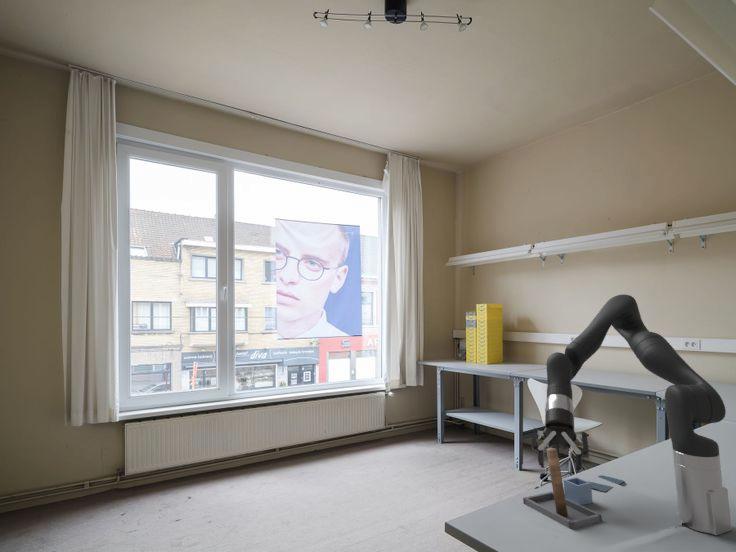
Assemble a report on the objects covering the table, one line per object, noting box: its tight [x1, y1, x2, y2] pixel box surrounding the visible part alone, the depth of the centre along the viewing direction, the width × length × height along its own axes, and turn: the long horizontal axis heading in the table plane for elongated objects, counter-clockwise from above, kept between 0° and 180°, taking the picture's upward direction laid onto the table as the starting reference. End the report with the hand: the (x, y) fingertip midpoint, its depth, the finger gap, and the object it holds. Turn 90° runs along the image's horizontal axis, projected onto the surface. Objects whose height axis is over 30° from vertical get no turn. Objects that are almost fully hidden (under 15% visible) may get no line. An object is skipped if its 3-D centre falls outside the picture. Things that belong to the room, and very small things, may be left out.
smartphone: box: [587, 474, 626, 494], centre depth 129 cm, size 8×2×15 cm
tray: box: [522, 491, 603, 530], centre depth 111 cm, size 16×10×2 cm, turn 22°
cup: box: [563, 477, 593, 506], centre depth 117 cm, size 5×5×6 cm
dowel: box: [546, 447, 568, 517], centre depth 110 cm, size 3×3×16 cm
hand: (559, 468), depth 113 cm, fingers open, 8 cm apart
